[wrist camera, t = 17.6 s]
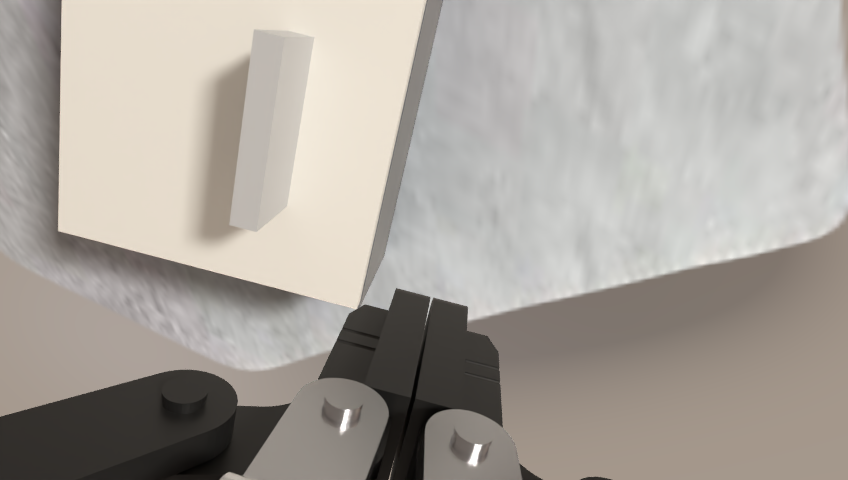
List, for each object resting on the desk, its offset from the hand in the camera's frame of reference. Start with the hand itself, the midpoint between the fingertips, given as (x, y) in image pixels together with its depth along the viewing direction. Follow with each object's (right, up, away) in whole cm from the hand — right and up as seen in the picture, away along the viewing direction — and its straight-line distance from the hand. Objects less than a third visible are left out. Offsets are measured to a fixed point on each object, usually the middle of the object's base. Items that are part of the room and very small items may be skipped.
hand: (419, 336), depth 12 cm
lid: (-9, +8, +16) cm, 20 cm away
